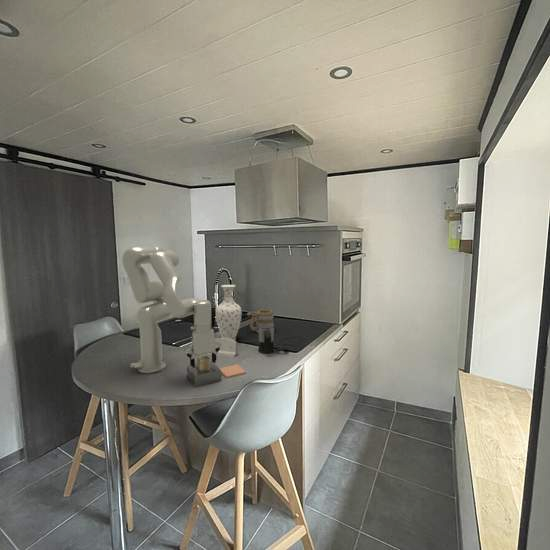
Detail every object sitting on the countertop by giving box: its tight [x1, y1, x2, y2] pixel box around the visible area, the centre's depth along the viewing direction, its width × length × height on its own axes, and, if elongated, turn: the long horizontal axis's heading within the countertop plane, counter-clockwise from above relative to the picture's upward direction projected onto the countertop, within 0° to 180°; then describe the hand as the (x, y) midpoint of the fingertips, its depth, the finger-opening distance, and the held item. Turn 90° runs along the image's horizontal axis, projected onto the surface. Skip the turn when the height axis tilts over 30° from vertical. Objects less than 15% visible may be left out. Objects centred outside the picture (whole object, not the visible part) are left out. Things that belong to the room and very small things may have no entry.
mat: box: [218, 364, 247, 379], centre depth 145 cm, size 10×10×1 cm
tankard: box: [246, 309, 275, 334], centre depth 208 cm, size 20×13×15 cm, turn 118°
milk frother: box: [257, 324, 289, 354], centre depth 172 cm, size 14×16×15 cm
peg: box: [196, 354, 211, 372], centre depth 137 cm, size 4×4×10 cm
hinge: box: [206, 337, 239, 359], centre depth 168 cm, size 17×5×10 cm, turn 76°
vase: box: [215, 284, 242, 341], centre depth 188 cm, size 16×16×35 cm
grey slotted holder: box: [186, 360, 222, 388], centre depth 138 cm, size 12×12×5 cm
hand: (203, 364), depth 137 cm, fingers open, 9 cm apart
